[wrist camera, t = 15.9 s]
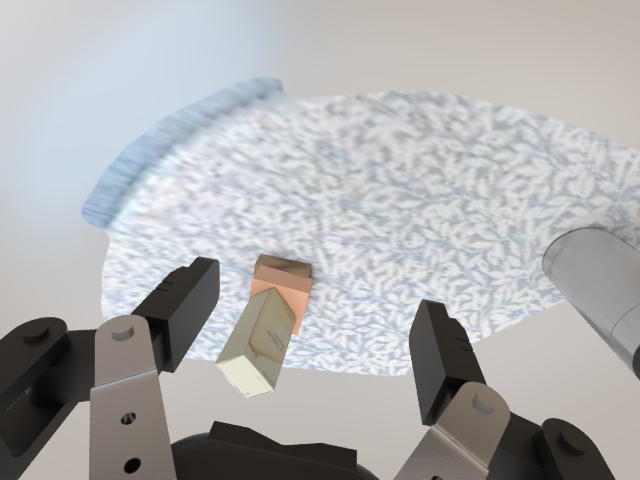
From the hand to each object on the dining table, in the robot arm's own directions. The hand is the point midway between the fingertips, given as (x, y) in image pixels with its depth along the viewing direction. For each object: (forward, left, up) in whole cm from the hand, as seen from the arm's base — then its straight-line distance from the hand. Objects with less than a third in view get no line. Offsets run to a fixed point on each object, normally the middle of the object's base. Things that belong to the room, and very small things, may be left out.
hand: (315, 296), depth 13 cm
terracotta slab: (+6, +23, -29) cm, 37 cm away
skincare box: (+6, +23, -26) cm, 35 cm away
